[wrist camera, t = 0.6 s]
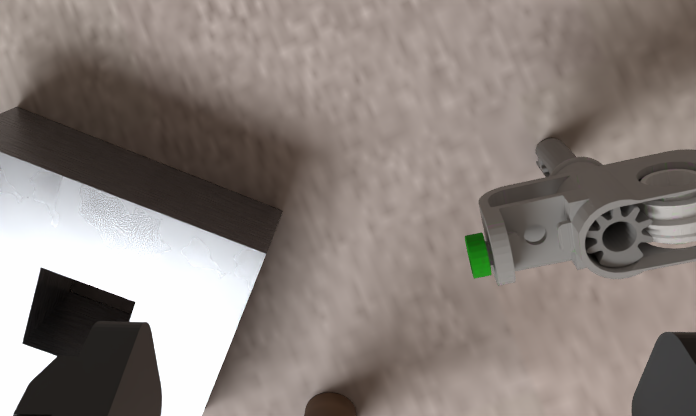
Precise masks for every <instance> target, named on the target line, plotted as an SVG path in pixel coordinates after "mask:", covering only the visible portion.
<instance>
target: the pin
mask: <svg viewBox="0 0 696 416" xmlns="http://www.w3.org/2000/svg"><path fill="white" fill-rule="evenodd" d="M304 416H356V410H355V407H354V405H353V403H352V402H351V401H350V400H349V399H348V398H346V397H345V396H343V395H340V394H337V393H322V394H319V395H316V396H315V397H313V398H312V399H311V400H310V401H309V402H308V404H307V406H306V409H305V415H304Z"/></svg>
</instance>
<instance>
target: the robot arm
mask: <svg viewBox="0 0 696 416" xmlns="http://www.w3.org/2000/svg"><path fill="white" fill-rule="evenodd" d="M161 412H162V387H161V381H160V376H159V370H158V365H157V359H156V353H155V348H154V342H153V336H152V331H151V327H150V325H149V323H147V322H115V321H98V322H96V323H95V324H94V325H93V327H92V328H91V330H90V332H89V335H88V337H87V339H86V341H85V343H84V346H83V348H82V350H81V352H80V354H79V356H57V357H56V358H55V359H54V360H53V361H52V362H51V363H50V364H48V365H47V366H46V367H45V368H44V369H43V370H42V371H41V372H40V373H39V374H38V375H37V376H36V377H35V378H34V379H33V380H32V381H31V382H30V383H29V384H28V386H27V388H26V390H25V392H24V394H23V396H22V398H21V400H20V402H19V404H18V406H17V407H16V409H15V411H14V413H13V416H161ZM632 416H696V332H665V333H663V334H661V335H660V336H659V337H658V339H657V341H656V343H655V346H654V348H653V350H652V353H651V355H650V358H649V360H648V362H647V365H646V367H645V369H644V372H643V374H642V377H641V379H640V381H639V384H638V386H637V389H636V391H635V393H634V396H633V400H632Z"/></svg>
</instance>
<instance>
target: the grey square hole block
mask: <svg viewBox="0 0 696 416" xmlns="http://www.w3.org/2000/svg"><path fill="white" fill-rule="evenodd" d="M281 214H282V211H281V210H279V209H276V208H274V207H271V206H269V205H266V204H264V203H261V202H258V201H256V200H253V199H251V198H248V197H246V196H243V195H241V194H238V193H235V192H233V191H230V190H228V189H225V188H223V187H220V186H218V185H215V184H212V183H210V182H207V181H205V180H202V179H200V178H197V177H195V176H192V175H189V174H187V173H184V172H182V171H179V170H177V169H174V168H171V167H169V166H166V165H164V164H161V163H159V162H156V161H154V160H151V159H148V158H146V157H143V156H141V155H138V154H136V153H133V152H131V151H128V150H125V149H123V148H120V147H118V146H115V145H113V144H110V143H108V142H105V141H102V140H100V139H97V138H95V137H92V136H90V135H87V134H85V133H82V132H79V131H77V130H74V129H72V128H69V127H67V126H64V125H62V124H59V123H56V122H54V121H51V120H49V119H46V118H44V117H41V116H39V115H36V114H33V113H31V112H28V111H26V110H23V109H21V108H18V107H15V108H13V109H11V110H8V111H6V112H4V113H1V114H0V415H2V416H13V413H14V411H15V409H16V407H17V406H18V404H19V402H20V400H21V398H22V396H23V394H24V392H25V390H26V388H27V386H28V384H29V383H30V382H31V381H32V380H33V379H34V378H35V377H36V376H37V375H38V374H39V373H40V372H41V371H42V370H43V369H44V368H45V367H46V366H47V365H48V364H50V363H51V362H52V361H53V360H54V359H55V358H56V357H57V356H79V354H80V352H81V350H82V348H83V346H84V343H85V341H86V339H87V337H88V335H89V332H90V330H91V328H92V327H93V325H94V324H95V323H96V322H98V321H115V322H147V323H149V325H150V327H151V331H152V336H153V342H154V348H155V353H156V359H157V365H158V370H159V376H160V381H161V387H162V412H161V416H202V414H203V411H204V409H205V406H206V404H207V401H208V399H209V396H210V394H211V391H212V389H213V386H214V384H215V381H216V379H217V376H218V374H219V371H220V369H221V366H222V364H223V361H224V359H225V356H226V354H227V351H228V349H229V346H230V344H231V341H232V339H233V336H234V334H235V331H236V329H237V326H238V324H239V321H240V319H241V316H242V313H243V311H244V308H245V306H246V303H247V301H248V298H249V296H250V293H251V291H252V288H253V286H254V283H255V281H256V278H257V276H258V273H259V271H260V268H261V266H262V263H263V261H264V258H265V256H266V253H267V251H268V248H269V245H270V243H271V240H272V238H273V235H274V232H275V230H276V227H277V224H278V222H279V219H280V217H281ZM73 279H74V280H77V281H80V282H83V283H85V284H88V285H91V286H94V287H96V288H99V289H102V290H104V291H107V292H110V293H113V294H115V295H118V296H121V297H124V298H126V299H129V300H132V301H134V302H136V303H135V306H134V309H133V312H132V315H131V314H128V313H126V312H123V311H120V310H117V309H115V308H112V307H109V306H106V305H104V304H101V303H98V302H95V301H93V300H90V299H87V298H84V297H82V296H79V295H76V294H73V293H71V292H70V288H71V285H72V281H73Z"/></svg>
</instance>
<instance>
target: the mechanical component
mask: <svg viewBox="0 0 696 416" xmlns="http://www.w3.org/2000/svg"><path fill="white" fill-rule="evenodd" d="M536 154H537V156H538V161H536V163H537V165H538V167H539V168H540V169H541V171H542V172H543V173H544V175H545V176H546V177H545V178H541V179H536V180H531V181H527V182H522V183H517V184H513V185H508V186H504V187H500V188H497V189H494V190H491V191H489V192H487V193H486V194H484V195H483V196H482V197H481V198H480V199H479V207H480V212H481V218H482V223H483V228H484V233H485V239H486V241H485V240H484V236H483V234H482V233H477V234H472V235H467V236H465V242H466V247H467V252H468V257H469V261H470V265H471V270H472V274H473V277H474V278H479V277H484V276H489V275H491V268H492V271H493V274H494V277H495V280H496V282H497V285H498V286H499V285H504V284H509V283H514V282H515V281H516V278H515V271H519V270H524V269H529V268H534V267H540V266H545V265H550V264H555V263H560V262H565V261H570V260H572V261H573V263H574V265H575V266H576V268H577V270H579V269H584V268H588V269H589V270H590V271H592V272H593V273H595V274H597V275H599V276H602V277H604V278H610V279H623V278H629V277H632V276H635V275H638V274H640V273H642V272H644V271H646V270H651V269H657V268H662V267H667V266H673V265H678V264H683V263H688V262H694V261H696V246H693V247H688V248H680V249H669V248H660V247H656V246H653V245H650V244H648V243H646V242H658V243H664V244H683V243H689V242H693V241H696V150H674V151H668V152H663V153H658V154H653V155H649V156H644V157H639V158H635V159H630V160H625V161H621V162H616V163H611V164H606V165H602V164H601V163H600V162H598V161H596V160H594V159H592V158H588V157H576V156H575V155H574V154H573V153H572V152H571V151H570V150H569V149H568V148H567V147H566V145H565V144H564V143H562V142H561V141H560V140H558V139H554V138H549V139H545V140H543V141H541V142H540V143H539V144H538V145H537V147H536ZM490 266H491V267H490Z"/></svg>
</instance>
